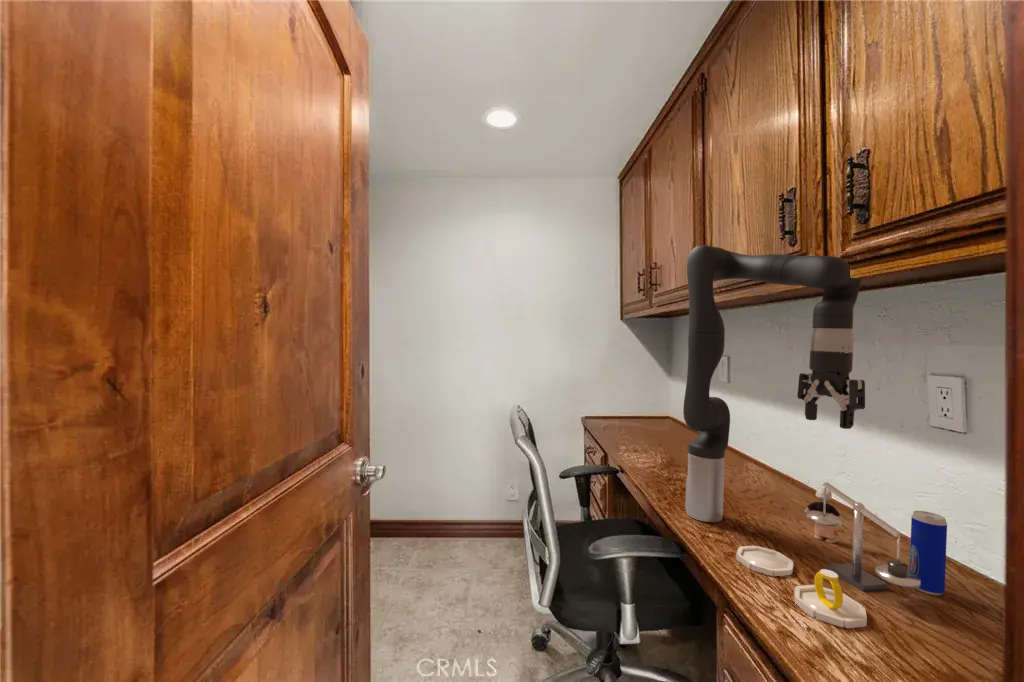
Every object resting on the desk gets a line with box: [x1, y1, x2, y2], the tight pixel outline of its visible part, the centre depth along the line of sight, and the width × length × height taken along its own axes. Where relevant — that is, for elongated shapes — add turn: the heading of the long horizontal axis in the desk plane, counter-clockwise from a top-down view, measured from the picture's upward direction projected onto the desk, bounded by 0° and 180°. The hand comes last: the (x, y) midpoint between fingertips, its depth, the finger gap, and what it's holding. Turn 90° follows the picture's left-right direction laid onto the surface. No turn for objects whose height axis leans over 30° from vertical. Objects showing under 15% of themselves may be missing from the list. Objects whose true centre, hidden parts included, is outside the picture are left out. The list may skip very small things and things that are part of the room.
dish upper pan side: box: [735, 545, 794, 577], centre depth 95 cm, size 11×11×1 cm
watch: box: [814, 568, 844, 609], centre depth 80 cm, size 6×3×6 cm, turn 176°
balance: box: [806, 481, 921, 592], centre depth 90 cm, size 22×6×18 cm, turn 10°
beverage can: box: [909, 510, 948, 597], centre depth 87 cm, size 5×5×15 cm
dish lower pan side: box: [793, 584, 868, 629], centre depth 79 cm, size 11×11×1 cm
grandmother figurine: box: [804, 487, 844, 544], centre depth 108 cm, size 8×4×13 cm, turn 56°
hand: (827, 423), depth 94 cm, fingers open, 8 cm apart
